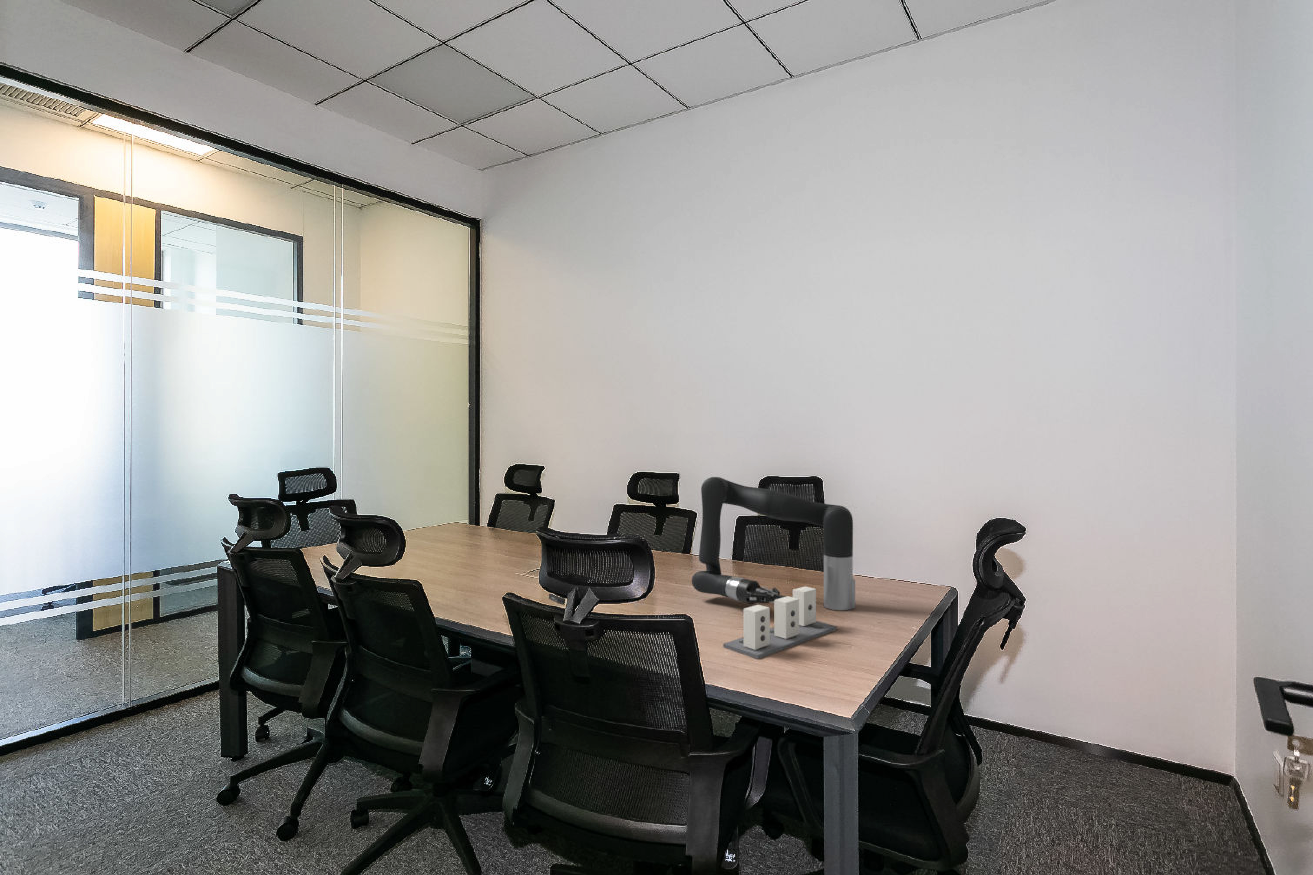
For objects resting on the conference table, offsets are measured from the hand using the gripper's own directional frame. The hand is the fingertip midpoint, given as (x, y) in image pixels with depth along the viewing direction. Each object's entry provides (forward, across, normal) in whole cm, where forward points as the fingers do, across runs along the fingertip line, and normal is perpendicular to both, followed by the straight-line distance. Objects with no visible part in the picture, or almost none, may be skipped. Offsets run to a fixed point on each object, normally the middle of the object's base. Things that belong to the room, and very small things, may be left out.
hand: (785, 600), depth 200 cm
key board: (+9, -13, +7) cm, 17 cm away
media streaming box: (-67, -33, +7) cm, 75 cm away
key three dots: (+11, -26, +5) cm, 29 cm away
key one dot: (+7, 0, +5) cm, 9 cm away
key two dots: (+11, -13, +5) cm, 18 cm away
